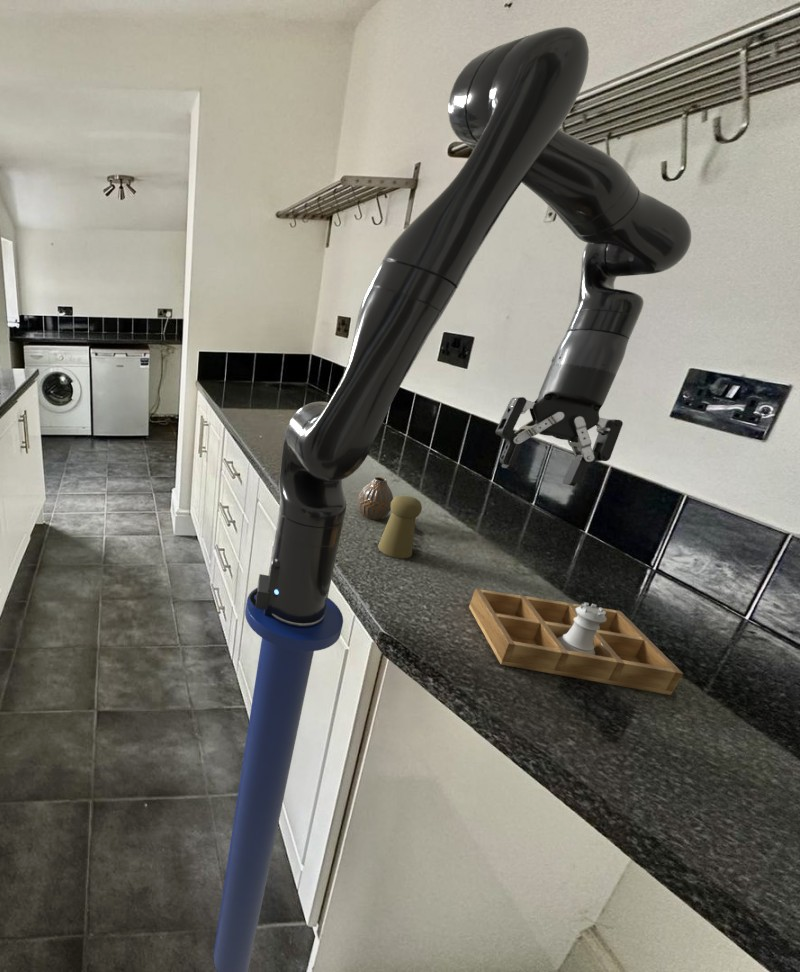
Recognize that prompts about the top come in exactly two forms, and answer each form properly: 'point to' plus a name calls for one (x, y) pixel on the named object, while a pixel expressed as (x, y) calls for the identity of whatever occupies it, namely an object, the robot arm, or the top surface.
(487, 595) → the grid
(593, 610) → the rook chess piece
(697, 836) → the top surface
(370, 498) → the vase
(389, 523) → the cork
